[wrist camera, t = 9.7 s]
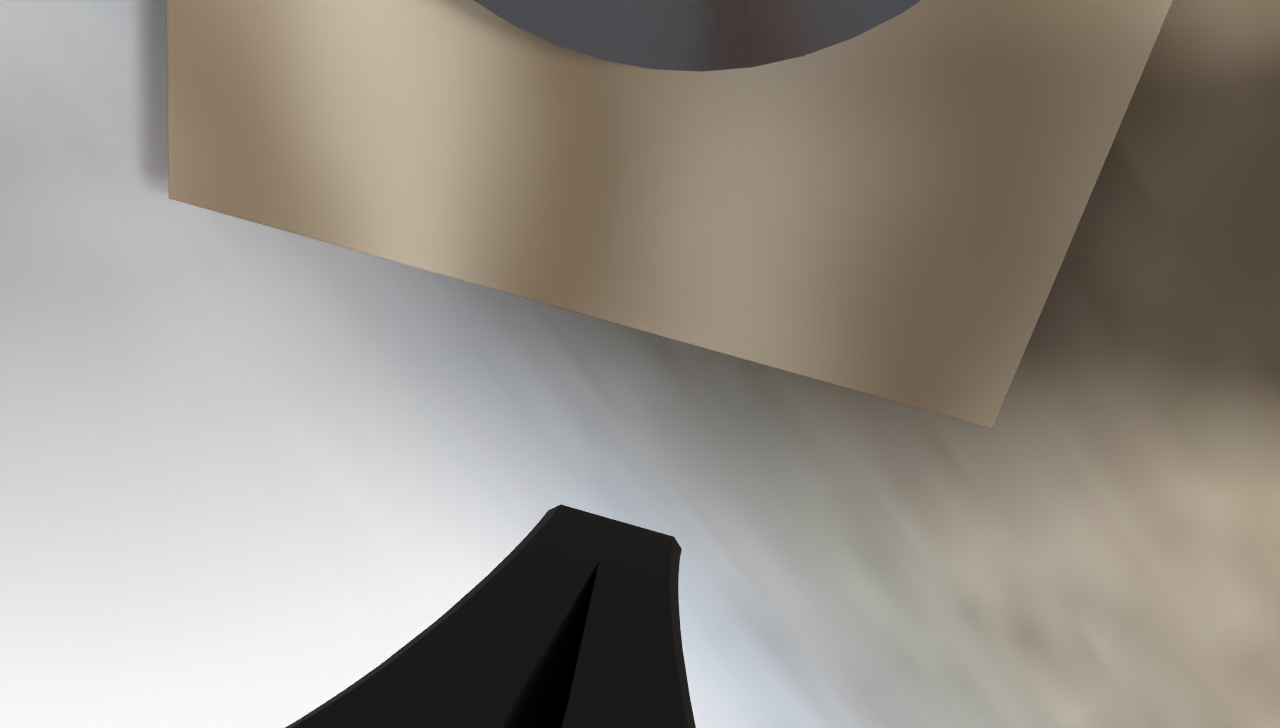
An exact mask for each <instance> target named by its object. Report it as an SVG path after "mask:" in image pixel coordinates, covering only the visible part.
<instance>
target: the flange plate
mask: <svg viewBox="0 0 1280 728" xmlns="http://www.w3.org/2000/svg"><path fill="white" fill-rule="evenodd" d="M474 1H475V2H477V3H478V4H480V5H482V6H483V7H485V8H486V9H488V10H489V11H491V12H492V13H494V14H496V15H497V16H499V17H500V18H502V19H503V20H505V21H507V22H508V23H510V24H512V25H514V26H516V27H518V28H520V29H523V30H525V31H527V32H529V33H531V34H533V35H535V36H537V37H539V38H542V39H544V40H546V41H548V42H550V43H552V44H554V45H557V46H560V47H563V48H566V49H569V50H573V51H576V52H579V53H582V54H585V55H588V56H591V57H594V58H597V59H600V60H604V61H610V62H615V63H621V64H626V65H631V66H637V67H642V68H648V69H658V70H679V71H699V72H703V71H715V70H727V69H738V68H750V67H756V66H761V65H765V64H770V63H774V62H779V61H783V60H788V59H792V58H797V57H802V56H805V55H808V54H811V53H813V52H816V51H819V50H822V49H824V48H827V47H830V46H833V45H835V44H838V43H841V42H844V41H847V40H849V39H852V38H855V37H857V36H858V35H860V34H862V33H864V32H866V31H868V30H870V29H872V28H874V27H876V26H878V25H880V24H882V23H884V22H886V21H888V20H890V19H892V18H894V17H896V16H898V15H899V14H901V13H903V12H905V11H906V10H908V9H909V8H911V7H912V6H914V5H915V4H917V3H918V2H920V1H921V0H474Z"/></svg>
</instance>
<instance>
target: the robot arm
mask: <svg viewBox="0 0 1280 728" xmlns="http://www.w3.org/2000/svg"><path fill="white" fill-rule="evenodd" d="M681 550H682V549H681V547H680V546H679V544H678V542H677V541H676V539H675V538H674V537H672V536H669V535H665V534H662V533H658V532H655V531H651V530H648V529H644V528H641V527H637V526H634V525H630V524H627V523H623V522H620V521H616V520H613V519H609V518H606V517H602V516H599V515H595V514H592V513H588V512H585V511H581V510H578V509H574V508H571V507H567V506H564V505H559V506H557V507H555V508H553V509H550V510H548V512H547V513H546V514H545V515H544V517H543V518H542V519H541V520H540V522H539V523H538V524H537V525H536V526H535V527H534V528H533V530H532V531H531V532H530V533H529V534H528V535H527V536H526V537H525V538H524V539H523V541H522V542H521V543H520V544H519V545H518V546H517V547H516V548H515V549H514V550H513V551H512V552H511V553H510V554H509V555H508V556H507V557H506V558H505V559H504V560H503V561H502V562H501V563H500V564H499V565H498V566H497V567H496V568H495V569H494V570H493V571H492V572H491V573H490V574H489V575H488V576H486V577H485V578H484V579H483V580H482V581H481V582H480V583H479V584H478V585H476V586H475V587H474V588H473V589H472V590H471V591H470V592H469V593H467V594H466V595H465V596H464V597H463V598H462V599H461V600H460V601H459V602H457V603H456V604H455V605H454V606H453V607H452V608H451V609H450V610H448V611H447V612H446V613H445V614H444V615H443V616H441V617H440V618H439V619H438V620H437V621H435V622H434V623H433V624H432V625H431V626H429V627H428V628H427V629H425V630H424V631H423V632H422V633H420V634H419V635H418V636H416V637H415V638H414V639H413V640H411V641H410V642H409V643H408V644H406V645H405V646H404V647H402V648H401V649H400V650H399V651H397V652H396V653H395V654H393V655H392V656H391V657H390V658H388V659H387V660H386V661H385V662H383V663H382V664H381V665H379V666H378V667H376V668H375V669H374V670H372V671H371V672H369V673H368V674H367V675H365V676H364V677H362V678H361V679H360V680H358V681H357V682H355V683H354V684H353V685H351V686H350V687H348V688H347V689H345V690H344V691H342V692H341V693H339V694H338V695H336V696H335V697H333V698H332V699H330V700H329V701H327V702H326V703H324V704H322V705H321V706H319V707H318V708H316V709H315V710H313V711H312V712H310V713H309V714H307V715H305V716H304V717H302V718H301V719H299V720H297V721H296V722H294V723H292V724H291V725H289V726H287V727H285V728H696V727H695V722H694V717H693V712H692V706H691V701H690V695H689V689H688V682H687V676H686V669H685V663H684V656H683V649H682V640H681V631H680V617H679V601H678V574H679V561H680V555H681Z"/></svg>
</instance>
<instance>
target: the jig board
mask: <svg viewBox="0 0 1280 728" xmlns="http://www.w3.org/2000/svg"><path fill="white" fill-rule="evenodd" d="M1172 1H1173V0H921V1H920V2H918V3H917V4H915V5H914V6H912V7H911V8H909V9H908V10H906V11H905V12H903V13H901V14H899V15H898V16H896V17H894V18H892V19H890V20H888V21H886V22H884V23H882V24H880V25H878V26H876V27H874V28H872V29H870V30H868V31H866V32H864V33H862V34H860V35H858V36H857V37H855V38H852V39H849V40H847V41H844V42H841V43H838V44H835V45H833V46H830V47H827V48H824V49H822V50H819V51H816V52H813V53H811V54H808V55H805V56H802V57H797V58H792V59H788V60H783V61H779V62H774V63H770V64H765V65H761V66H756V67H750V68H738V69H727V70H715V71H703V72H699V71H679V70H658V69H648V68H642V67H637V66H631V65H626V64H621V63H615V62H610V61H604V60H600V59H597V58H594V57H591V56H588V55H585V54H582V53H579V52H576V51H573V50H569V49H566V48H563V47H560V46H557V45H554V44H552V43H550V42H548V41H546V40H544V39H542V38H539V37H537V36H535V35H533V34H531V33H529V32H527V31H525V30H523V29H520V28H518V27H516V26H514V25H512V24H510V23H508V22H507V21H505V20H503V19H502V18H500V17H499V16H497V15H496V14H494V13H492V12H491V11H489V10H488V9H486V8H485V7H483V6H482V5H480V4H478V3H477V2H475V1H474V0H167V71H168V164H169V198H170V199H173V200H177V201H181V202H184V203H188V204H191V205H195V206H199V207H202V208H206V209H209V210H213V211H216V212H220V213H224V214H227V215H231V216H234V217H238V218H241V219H245V220H249V221H252V222H256V223H259V224H263V225H266V226H270V227H274V228H277V229H281V230H284V231H288V232H291V233H295V234H299V235H302V236H306V237H309V238H313V239H317V240H320V241H324V242H327V243H331V244H334V245H338V246H342V247H345V248H349V249H352V250H356V251H359V252H363V253H367V254H370V255H374V256H377V257H381V258H384V259H388V260H392V261H395V262H399V263H402V264H406V265H410V266H413V267H417V268H420V269H424V270H427V271H431V272H435V273H438V274H442V275H445V276H449V277H452V278H456V279H460V280H463V281H467V282H470V283H474V284H477V285H481V286H485V287H488V288H492V289H495V290H499V291H502V292H506V293H510V294H513V295H517V296H520V297H524V298H528V299H531V300H535V301H538V302H542V303H545V304H549V305H553V306H556V307H560V308H563V309H567V310H570V311H574V312H578V313H581V314H585V315H588V316H592V317H595V318H599V319H603V320H606V321H610V322H613V323H617V324H621V325H624V326H628V327H631V328H635V329H638V330H642V331H646V332H649V333H653V334H656V335H660V336H663V337H667V338H671V339H674V340H678V341H681V342H685V343H688V344H692V345H696V346H699V347H703V348H706V349H710V350H713V351H717V352H721V353H724V354H728V355H731V356H735V357H739V358H742V359H746V360H749V361H753V362H756V363H760V364H764V365H767V366H771V367H774V368H778V369H781V370H785V371H789V372H792V373H796V374H799V375H803V376H806V377H810V378H814V379H817V380H821V381H824V382H828V383H831V384H835V385H839V386H842V387H846V388H849V389H853V390H857V391H860V392H864V393H867V394H871V395H874V396H878V397H882V398H885V399H889V400H892V401H896V402H899V403H903V404H907V405H910V406H914V407H917V408H921V409H924V410H928V411H932V412H935V413H939V414H942V415H946V416H950V417H953V418H957V419H960V420H964V421H967V422H971V423H975V424H978V425H982V426H985V427H989V428H993V426H994V423H995V421H996V419H997V416H998V414H999V411H1000V409H1001V407H1002V404H1003V402H1004V400H1005V397H1006V395H1007V392H1008V390H1009V388H1010V385H1011V383H1012V381H1013V378H1014V376H1015V373H1016V371H1017V369H1018V366H1019V364H1020V362H1021V359H1022V357H1023V354H1024V352H1025V350H1026V347H1027V345H1028V343H1029V340H1030V338H1031V336H1032V333H1033V331H1034V328H1035V326H1036V324H1037V321H1038V319H1039V317H1040V314H1041V312H1042V309H1043V307H1044V305H1045V302H1046V300H1047V298H1048V295H1049V293H1050V290H1051V288H1052V286H1053V283H1054V281H1055V279H1056V276H1057V274H1058V271H1059V269H1060V267H1061V264H1062V262H1063V260H1064V257H1065V255H1066V253H1067V250H1068V248H1069V245H1070V243H1071V241H1072V238H1073V236H1074V234H1075V231H1076V229H1077V226H1078V224H1079V222H1080V219H1081V217H1082V215H1083V212H1084V210H1085V207H1086V205H1087V203H1088V200H1089V198H1090V196H1091V193H1092V191H1093V188H1094V186H1095V184H1096V181H1097V179H1098V177H1099V174H1100V172H1101V170H1102V167H1103V165H1104V162H1105V160H1106V158H1107V155H1108V153H1109V151H1110V148H1111V146H1112V143H1113V141H1114V139H1115V136H1116V134H1117V132H1118V129H1119V127H1120V124H1121V122H1122V120H1123V117H1124V115H1125V113H1126V110H1127V108H1128V105H1129V103H1130V101H1131V98H1132V96H1133V94H1134V91H1135V89H1136V86H1137V84H1138V82H1139V79H1140V77H1141V75H1142V72H1143V70H1144V68H1145V65H1146V63H1147V60H1148V58H1149V56H1150V53H1151V51H1152V49H1153V46H1154V44H1155V41H1156V39H1157V37H1158V34H1159V32H1160V30H1161V27H1162V25H1163V22H1164V20H1165V18H1166V15H1167V13H1168V11H1169V8H1170V6H1171V3H1172Z"/></svg>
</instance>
